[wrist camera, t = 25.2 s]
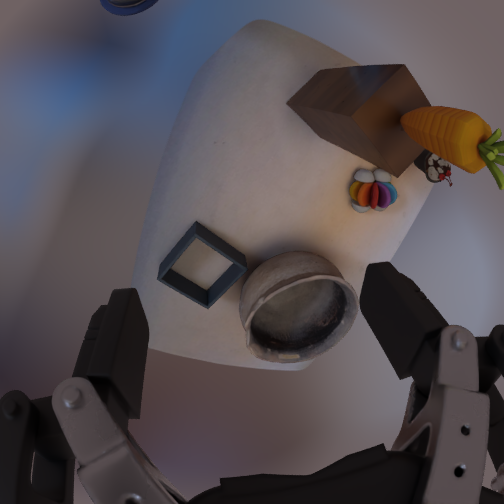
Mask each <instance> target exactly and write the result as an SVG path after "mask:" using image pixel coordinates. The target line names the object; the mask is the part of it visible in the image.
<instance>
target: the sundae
mask: <svg viewBox="0 0 504 504" xmlns="http://www.w3.org/2000/svg"><path fill="white" fill-rule="evenodd" d="M414 164H415V165H416V166H417V167H418V168H419V169H420V170H422V171H423V172H424V173H425V174H426V177H427V179H428V180H429V181H430V182H433V183H436V182H441V181H442V180H444V179H446V178H445V176H448V177H449V178H450V175H451V172H450V170H451V166H450V163H449V162H448V161H446V160H444V159H442V158H441V157H439V156H437V155H435V154H434V153H432V152H430V151H429V150H427V149H424V150H423V151H422V153H421V154H420V155H419V156H418V157H417V158H416V159H415V160H414ZM446 180H448V179H446ZM448 182H449V181H448ZM450 186H452V183H451V184H450Z"/></svg>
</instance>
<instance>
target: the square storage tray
mask: <svg viewBox="0 0 504 504" xmlns="http://www.w3.org/2000/svg"><path fill="white" fill-rule="evenodd" d="M195 238H198V239H199V240H201V241H202V242H203V243H205V244H206V245H208V246H209V247H211V248H212V249H214V250H215V251H217V252H218V253H220V254H221V255H223V256H224V257H226V258H227V259H229V260H230V261H231V262H233V264H232V265H231V267H230V268H229V269H228V270H227V271H226V272H225V273H224V274H223V275H222V276H221V277H220V278H219V279H218V280H217V281H216V282H215V283H214V284H213V285H212V286H211V287H210V288H209V289H208V290H207V291H206V290H204V289H203V288H201V287H199V286H198V285H196V284H194V283H193V282H191V281H190V280H188V279H186V278H185V277H183V276H181V275H180V274H178V273H176V272H175V271H173V270H172V269H170V268H171V267H172V265H173V264H174V263H175V262H176V261H177V259H178V258H179V257H180V256H181V255H182V253H183V252H184V251H185V250H186V249H187V248H188V246H189V245H190V244H191V243H192V242H193V241H194V239H195ZM247 270H248V267H247V262H246V258H245V255H244V254H242V253H241V252H239V251H238V250H236V249H235V248H234V247H232V246H231V245H229V244H228V243H226V242H225V241H224V240H222V239H221V238H219V237H218V236H217V235H215V234H214V233H212V232H211V231H209V230H208V229H207V228H205V227H204V226H202V225H201V224H200V223H198V222H197V221H196V222H195V223H194V224H193V225H192V226H191V228H190V229H189V230H188V231H187V232H186V234H185V235H184V236H183V237H182V238H181V240H180V241H179V242H178V243H177V244H176V246H175V247H174V248H173V249H172V251H171V252H170V253H169V254H168V255H167V257H166V258H165V259H164V260H163V262H162V263H161V264H160V267H159V272H158V277H157V280H159V281H160V282H162V283H164V284H165V285H167V286H169V287H170V288H172V289H174V290H175V291H177V292H179V293H180V294H182V295H184V296H186V297H187V298H189V299H191V300H193V301H194V302H196V303H198V304H200V305H201V306H203V307H205V308H207V309H209V308H210V307H211V306H212V305H213V304H214V303H215V302H216V301H217V300H218V299H219V298H220V297H221V296H222V295H223V294H224V293H225V292H226V291H227V290H228V289H229V288H230V287H231V286H232V285H233V284H234V283H235V282H236V281H237V280H238V279H239V278H240V277H241V276H242V275H243V274H244V273H245V272H246V271H247Z"/></svg>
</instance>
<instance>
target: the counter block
mask: <svg viewBox="0 0 504 504" xmlns="http://www.w3.org/2000/svg"><path fill="white" fill-rule="evenodd" d="M286 104H287V105H288V106H289V107H290V108H291V109H292V110H293V111H295V112H296V113H297V114H298V115H299V116H300V117H301V118H302V119H303V120H304V121H305V122H306V123H307V124H308V125H309V126H310V127H311V128H312V129H313V131H314V132H315V133H316V134H317V135H318V136H319V137H320V138H322V139H324V140H326V141H328V142H330V143H332V144H335V145H337V146H339V147H341V148H343V149H345V150H347V151H349V152H351V153H353V154H355V155H357V156H359V157H360V158H362V159H364V160H366V161H368V162H370V163H372V164H374V165H375V166H377V167H379V168H381V169H383V170H384V171H386V172H388V173H390V174H391V175H393V176H395V177H397V178H398V177H399V176H400V175H401V174H402V173H403V172H404V171H405V170H406V169H407V168H408V167H409V166H410V164H411V163H412V162H413V161H414V160H415V159H416V158H417V157H418V156H419V155H420V154H421V153H422V151H423V150H424V149H425V148H424V147H422V146H421V145H420V144H418V143H417V142H415V141H414V140H413V139H412V138H410V137H409V135H408V134H407V133H406V132H405V130H404V128H403V127H402V125H401V122H400V119H401V117H402V116H403V115H404V114H406V113H408V112H410V111H412V110H415V109H418V108H421V107H430V106H431V104H430V103H429V101H428V100H427V98H426V96H425V95H424V93H423V92H422V90H421V88H420V87H419V85H418V83H417V82H416V80H415V79H414V78H413V76H412V75H411V73H410V72H409V70H408V69H407V67H406V66H405V65H404V64H392V65H390V64H389V65H367V66H353V67H342V68H333V69H324V70H320V71H319V72H318V73H317V74H316V75H315V76H314V77H312V78H311V79H310V80H309V81H308V82H307V83H306V84H305V85H304V86H303V87H302V88H301V89H300V90H299V91H298V92H297V93H296V94H295V95H294V96H293V97H292V98H291V99H290V100H289V101H288V102H287V103H286Z"/></svg>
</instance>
